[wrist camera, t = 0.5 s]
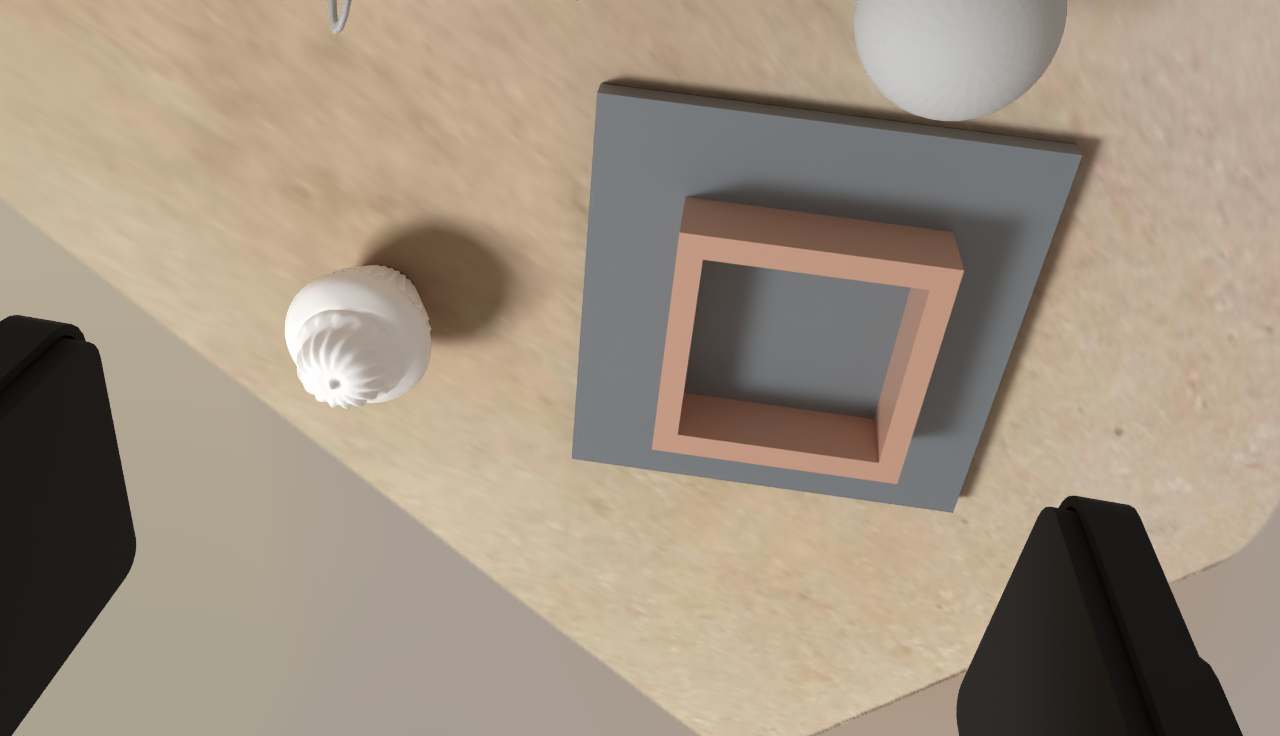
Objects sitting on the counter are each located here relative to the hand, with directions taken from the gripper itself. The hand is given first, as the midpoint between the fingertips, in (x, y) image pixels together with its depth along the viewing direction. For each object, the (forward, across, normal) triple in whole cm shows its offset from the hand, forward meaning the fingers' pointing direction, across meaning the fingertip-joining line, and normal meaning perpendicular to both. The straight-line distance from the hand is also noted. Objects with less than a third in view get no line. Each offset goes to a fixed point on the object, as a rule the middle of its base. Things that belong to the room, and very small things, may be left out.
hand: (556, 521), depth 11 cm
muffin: (+32, +12, +18) cm, 38 cm away
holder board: (+31, -6, +15) cm, 35 cm away
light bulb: (+31, -8, 0) cm, 32 cm away
